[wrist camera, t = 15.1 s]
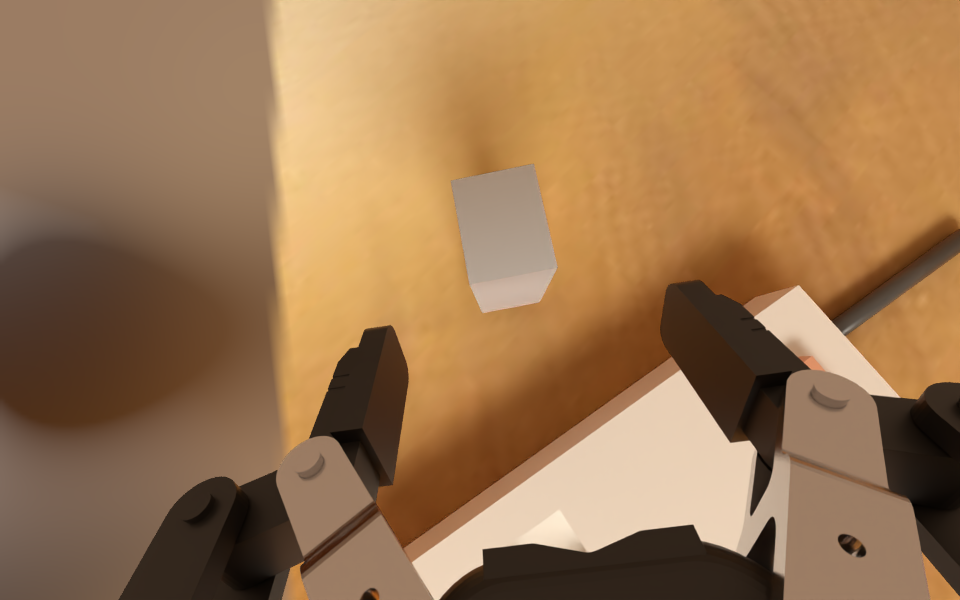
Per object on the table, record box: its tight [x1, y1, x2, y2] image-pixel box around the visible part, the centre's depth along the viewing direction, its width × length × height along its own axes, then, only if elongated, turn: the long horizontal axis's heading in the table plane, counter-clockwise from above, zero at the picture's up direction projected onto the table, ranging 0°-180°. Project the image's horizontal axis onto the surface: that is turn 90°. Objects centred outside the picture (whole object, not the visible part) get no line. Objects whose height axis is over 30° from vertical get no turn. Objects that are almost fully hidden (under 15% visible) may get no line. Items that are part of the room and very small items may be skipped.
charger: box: [451, 164, 558, 313], centre depth 20 cm, size 4×4×10 cm
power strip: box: [403, 229, 960, 600], centre depth 20 cm, size 42×8×4 cm, turn 124°
